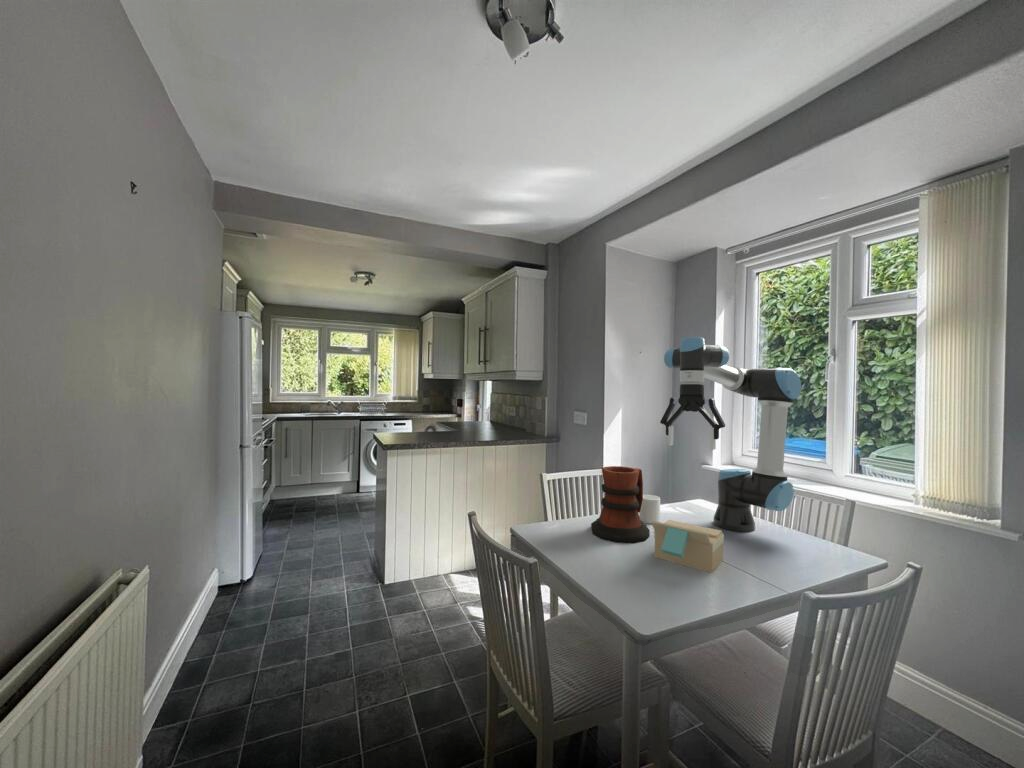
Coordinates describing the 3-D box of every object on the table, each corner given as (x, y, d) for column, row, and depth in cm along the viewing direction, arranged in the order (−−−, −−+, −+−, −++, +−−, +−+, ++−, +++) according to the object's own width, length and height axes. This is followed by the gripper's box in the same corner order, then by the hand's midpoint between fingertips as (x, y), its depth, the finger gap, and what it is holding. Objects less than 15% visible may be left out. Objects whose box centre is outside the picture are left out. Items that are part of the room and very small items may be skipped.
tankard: (579, 531, 165) (579, 468, 165) (617, 518, 181) (617, 461, 181) (627, 548, 148) (628, 478, 148) (664, 532, 165) (665, 469, 165)
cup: (649, 525, 173) (649, 500, 173) (629, 517, 183) (629, 493, 184) (664, 522, 176) (664, 498, 176) (643, 514, 187) (643, 491, 187)
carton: (667, 546, 150) (667, 519, 150) (723, 560, 138) (723, 531, 138) (654, 556, 141) (654, 527, 141) (713, 573, 129) (713, 541, 129)
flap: (651, 520, 138) (643, 544, 133) (707, 532, 126) (700, 559, 122) (655, 530, 141) (648, 553, 136) (711, 543, 129) (704, 569, 125)
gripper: (651, 383, 146) (650, 444, 146) (729, 383, 130) (729, 452, 130) (659, 383, 152) (658, 442, 152) (735, 383, 136) (735, 449, 136)
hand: (691, 447), depth 141 cm, fingers open, 13 cm apart
